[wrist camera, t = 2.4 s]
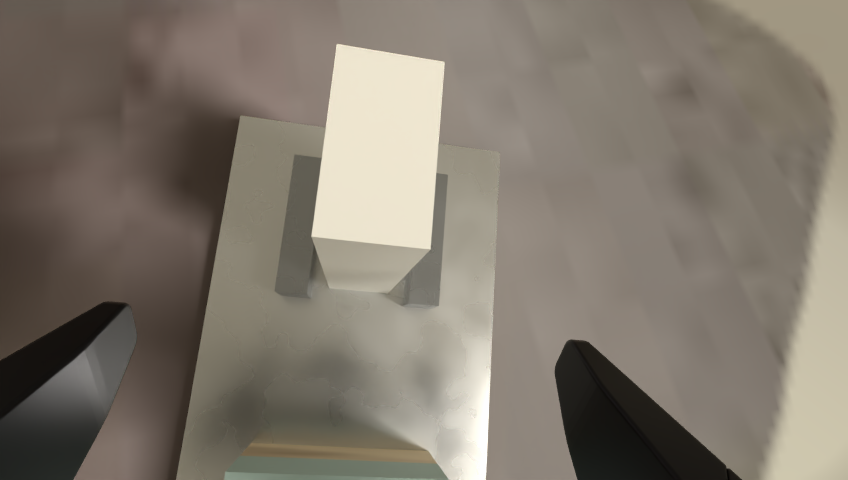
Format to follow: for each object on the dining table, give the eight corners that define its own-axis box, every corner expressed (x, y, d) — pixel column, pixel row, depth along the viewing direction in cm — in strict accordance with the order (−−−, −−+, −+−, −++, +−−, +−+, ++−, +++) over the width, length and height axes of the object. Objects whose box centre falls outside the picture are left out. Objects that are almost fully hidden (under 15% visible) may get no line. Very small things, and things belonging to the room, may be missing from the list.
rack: (473, 589, 19) (496, 635, 16) (164, 589, 17) (128, 640, 15) (493, 159, 23) (514, 134, 20) (245, 125, 22) (229, 92, 19)
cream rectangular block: (387, 293, 20) (430, 249, 10) (329, 288, 20) (311, 236, 10) (397, 194, 21) (444, 61, 11) (341, 187, 21) (337, 44, 11)
